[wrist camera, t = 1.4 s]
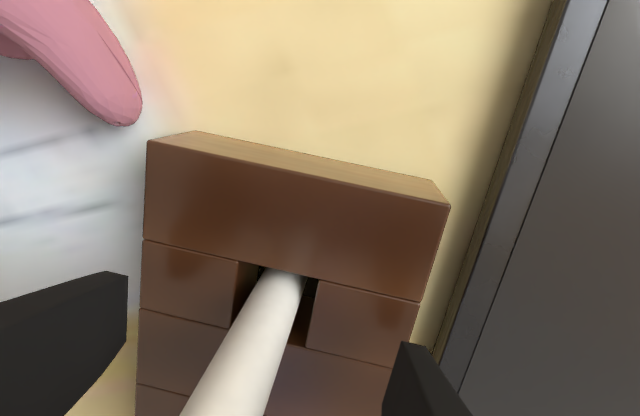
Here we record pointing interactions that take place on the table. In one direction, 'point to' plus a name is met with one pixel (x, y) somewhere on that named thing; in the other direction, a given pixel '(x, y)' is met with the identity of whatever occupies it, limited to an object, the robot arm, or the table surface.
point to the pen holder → (280, 268)
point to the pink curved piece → (74, 54)
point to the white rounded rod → (250, 350)
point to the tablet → (559, 234)
